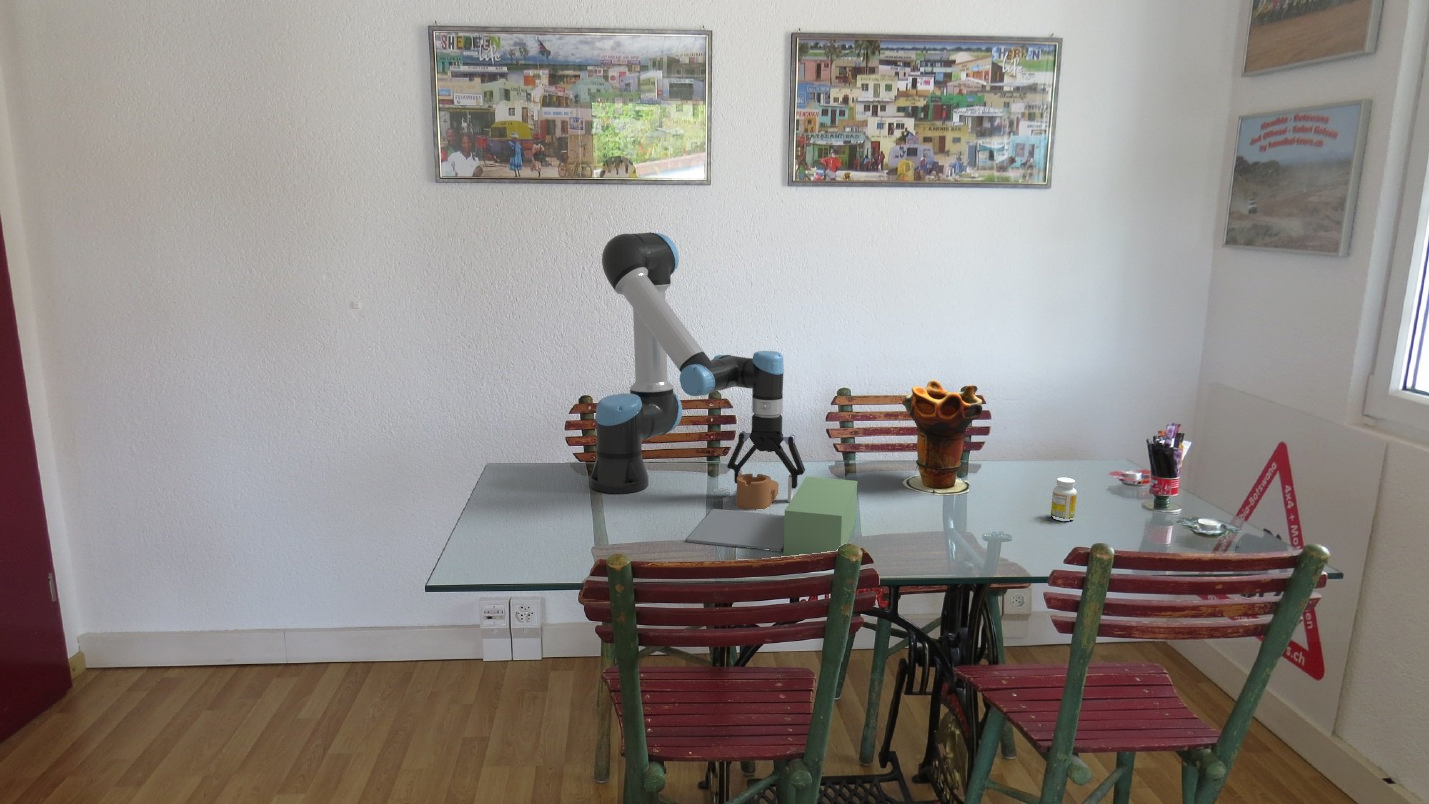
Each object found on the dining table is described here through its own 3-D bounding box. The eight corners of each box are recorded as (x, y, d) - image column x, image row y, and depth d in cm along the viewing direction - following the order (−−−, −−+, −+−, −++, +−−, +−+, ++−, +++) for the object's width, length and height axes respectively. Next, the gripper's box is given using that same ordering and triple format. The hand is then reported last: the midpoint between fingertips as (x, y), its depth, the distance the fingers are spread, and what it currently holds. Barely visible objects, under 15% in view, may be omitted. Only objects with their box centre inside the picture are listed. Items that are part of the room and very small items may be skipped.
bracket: (766, 512, 232) (767, 484, 230) (733, 509, 234) (733, 481, 232) (781, 490, 249) (781, 464, 247) (749, 488, 251) (750, 462, 249)
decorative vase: (981, 474, 263) (987, 375, 255) (974, 503, 242) (981, 396, 234) (904, 467, 269) (908, 370, 262) (891, 495, 248) (895, 390, 241)
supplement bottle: (1054, 522, 226) (1058, 482, 224) (1047, 514, 231) (1050, 476, 229) (1077, 522, 226) (1081, 483, 224) (1069, 514, 231) (1073, 476, 229)
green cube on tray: (684, 544, 209) (684, 500, 207) (715, 508, 233) (715, 468, 231) (840, 561, 200) (841, 515, 198) (855, 522, 225) (857, 480, 223)
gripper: (715, 414, 236) (714, 498, 241) (813, 421, 230) (810, 507, 234) (723, 407, 243) (722, 489, 248) (818, 414, 237) (815, 498, 242)
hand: (765, 498), depth 241 cm, fingers open, 12 cm apart
